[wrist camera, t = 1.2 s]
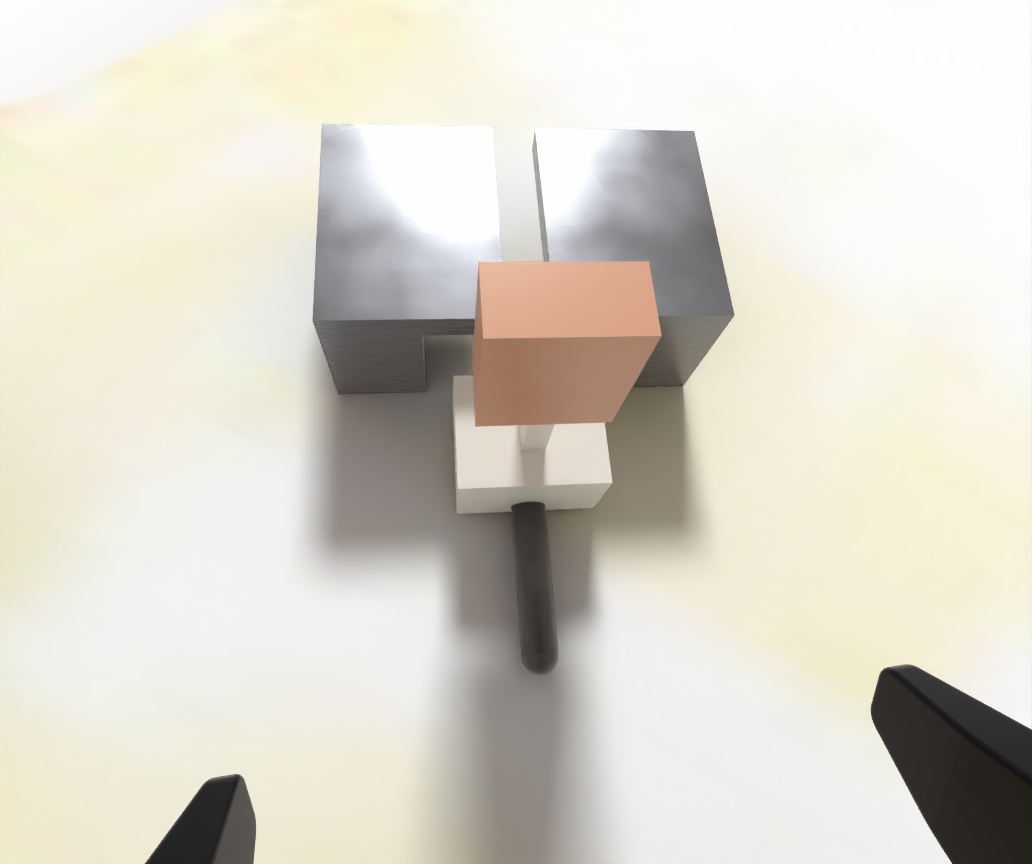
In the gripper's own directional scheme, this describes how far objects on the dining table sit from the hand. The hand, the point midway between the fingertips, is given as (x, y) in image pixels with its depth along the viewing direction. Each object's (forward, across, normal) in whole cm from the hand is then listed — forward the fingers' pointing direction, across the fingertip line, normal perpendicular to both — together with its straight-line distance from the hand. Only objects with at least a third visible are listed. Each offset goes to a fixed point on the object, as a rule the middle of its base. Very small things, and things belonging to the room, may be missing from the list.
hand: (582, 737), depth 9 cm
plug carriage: (+14, -2, +6) cm, 15 cm away
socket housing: (+21, -2, -1) cm, 21 cm away
